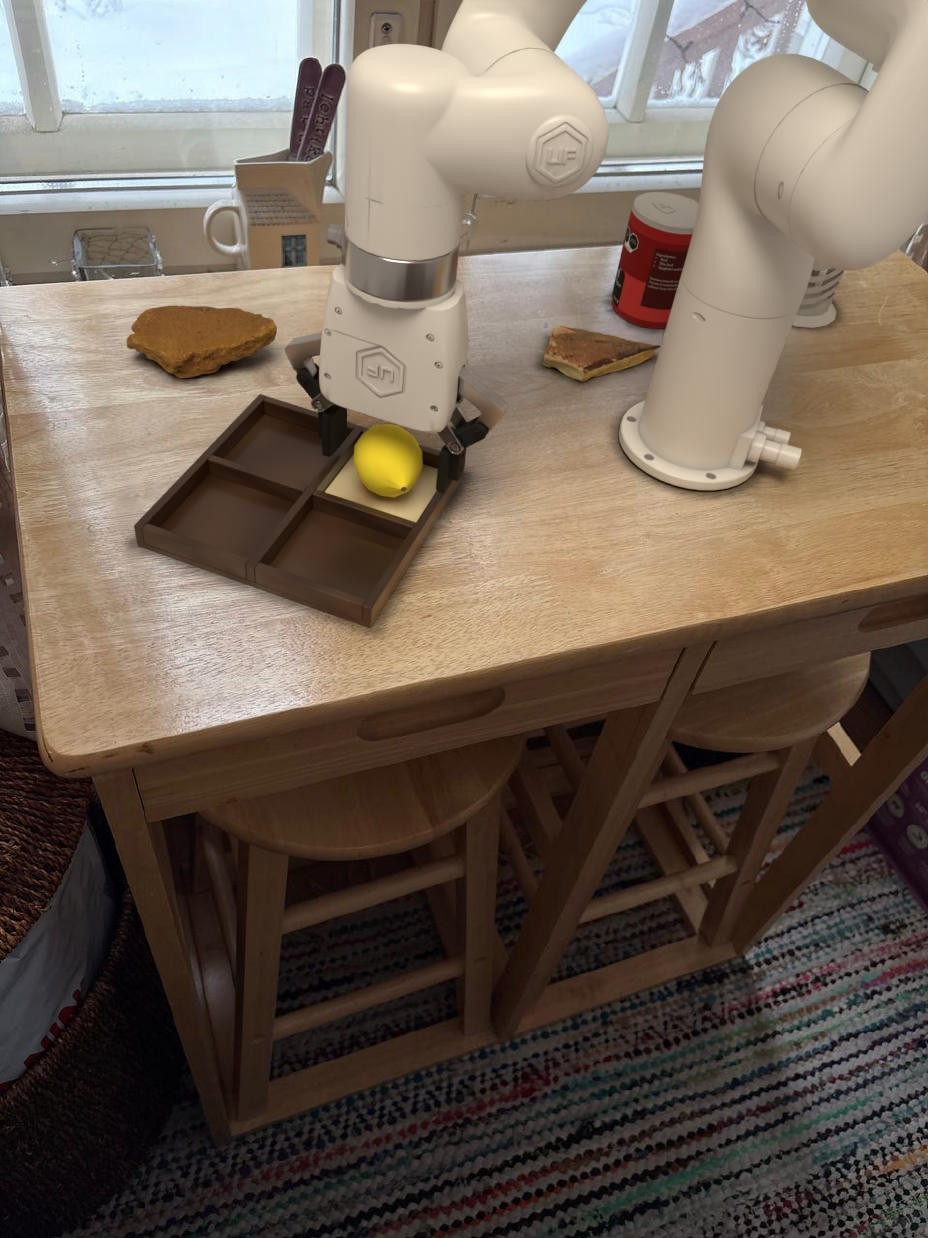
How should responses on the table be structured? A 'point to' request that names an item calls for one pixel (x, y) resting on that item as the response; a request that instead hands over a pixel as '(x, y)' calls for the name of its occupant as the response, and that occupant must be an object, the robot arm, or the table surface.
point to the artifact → (199, 337)
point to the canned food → (653, 257)
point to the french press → (820, 293)
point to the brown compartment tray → (294, 514)
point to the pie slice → (593, 353)
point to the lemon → (388, 460)
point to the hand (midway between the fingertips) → (390, 464)
